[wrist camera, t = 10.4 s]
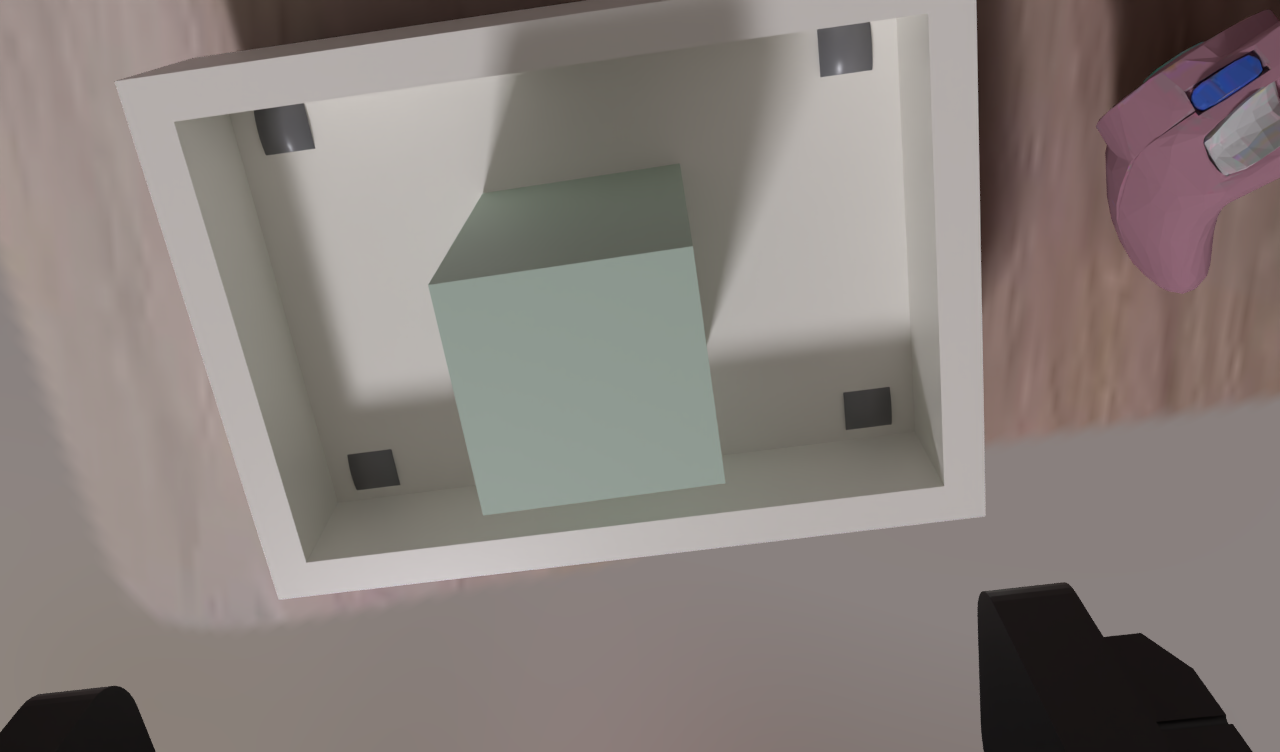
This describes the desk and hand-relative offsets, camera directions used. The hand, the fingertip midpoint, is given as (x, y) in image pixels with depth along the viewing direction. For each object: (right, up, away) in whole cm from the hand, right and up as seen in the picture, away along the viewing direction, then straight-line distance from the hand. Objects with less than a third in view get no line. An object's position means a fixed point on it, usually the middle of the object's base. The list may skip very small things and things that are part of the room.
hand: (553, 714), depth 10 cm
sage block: (0, +5, +12) cm, 13 cm away
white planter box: (0, +6, +14) cm, 16 cm away
